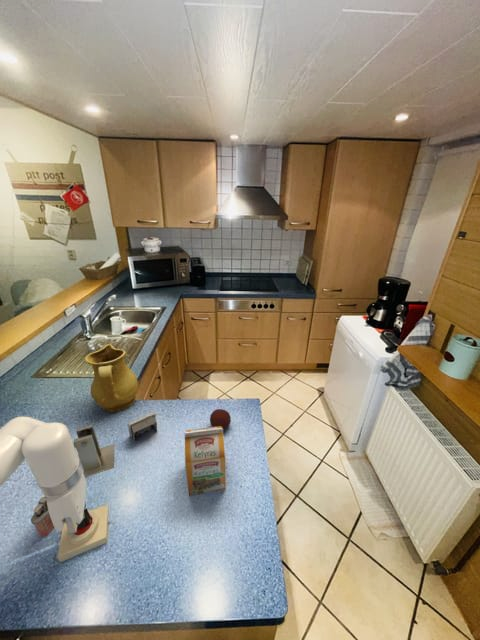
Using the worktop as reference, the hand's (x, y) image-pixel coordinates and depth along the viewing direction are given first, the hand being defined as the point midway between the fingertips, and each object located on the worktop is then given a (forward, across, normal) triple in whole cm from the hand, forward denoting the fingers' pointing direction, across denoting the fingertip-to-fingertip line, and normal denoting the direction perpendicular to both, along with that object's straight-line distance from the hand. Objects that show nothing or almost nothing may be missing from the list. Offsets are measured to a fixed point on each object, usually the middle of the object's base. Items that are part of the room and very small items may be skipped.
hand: (83, 523), depth 61 cm
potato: (+5, -19, +42) cm, 46 cm away
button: (+2, 0, 0) cm, 2 cm away
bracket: (+4, -20, 0) cm, 21 cm away
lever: (-4, -20, -4) cm, 21 cm away
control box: (+4, 0, 0) cm, 4 cm away
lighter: (+4, -6, -8) cm, 11 cm away
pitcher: (+4, -47, +6) cm, 47 cm away
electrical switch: (+4, -25, +16) cm, 30 cm away
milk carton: (+5, -3, +32) cm, 32 cm away
